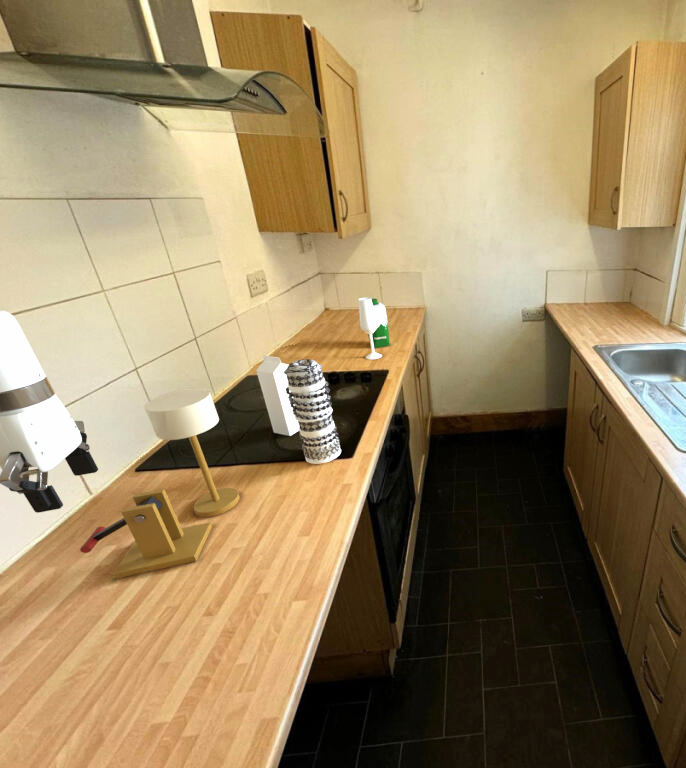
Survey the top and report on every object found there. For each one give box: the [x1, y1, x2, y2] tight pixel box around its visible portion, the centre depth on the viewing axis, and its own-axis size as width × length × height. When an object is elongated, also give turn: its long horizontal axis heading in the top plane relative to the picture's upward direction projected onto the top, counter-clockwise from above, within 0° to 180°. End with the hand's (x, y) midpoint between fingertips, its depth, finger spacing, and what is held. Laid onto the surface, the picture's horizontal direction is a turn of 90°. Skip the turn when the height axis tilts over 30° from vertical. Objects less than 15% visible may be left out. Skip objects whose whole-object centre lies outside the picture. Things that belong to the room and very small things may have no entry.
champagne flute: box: [357, 297, 383, 360], centre depth 167 cm, size 7×7×24 cm
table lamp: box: [144, 387, 240, 518], centre depth 84 cm, size 10×10×25 cm
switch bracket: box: [112, 488, 213, 580], centre depth 74 cm, size 12×9×12 cm
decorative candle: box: [284, 358, 342, 465], centre depth 101 cm, size 9×9×25 cm
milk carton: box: [367, 298, 390, 349], centre depth 182 cm, size 9×9×20 cm
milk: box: [255, 355, 300, 437], centre depth 113 cm, size 6×6×22 cm
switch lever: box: [79, 496, 163, 554], centre depth 72 cm, size 12×5×2 cm, turn 108°
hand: (69, 490), depth 68 cm, fingers open, 9 cm apart
